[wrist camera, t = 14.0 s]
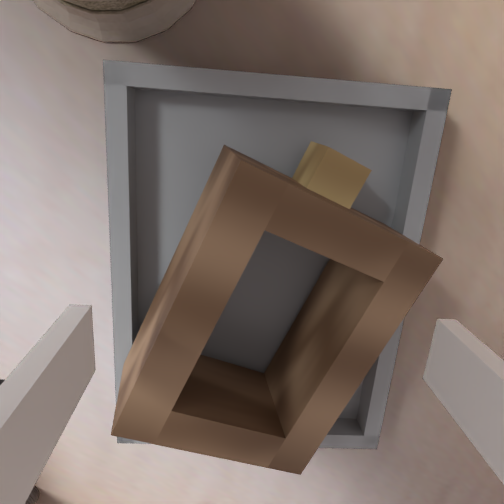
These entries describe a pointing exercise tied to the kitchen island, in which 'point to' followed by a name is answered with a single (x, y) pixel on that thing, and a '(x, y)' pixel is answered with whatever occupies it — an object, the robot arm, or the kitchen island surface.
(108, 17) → the mug
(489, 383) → the robot arm
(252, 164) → the brown wooden frame
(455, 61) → the kitchen island surface
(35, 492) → the grey metal l-shaped piece
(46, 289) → the kitchen island surface
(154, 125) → the tray
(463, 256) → the kitchen island surface
